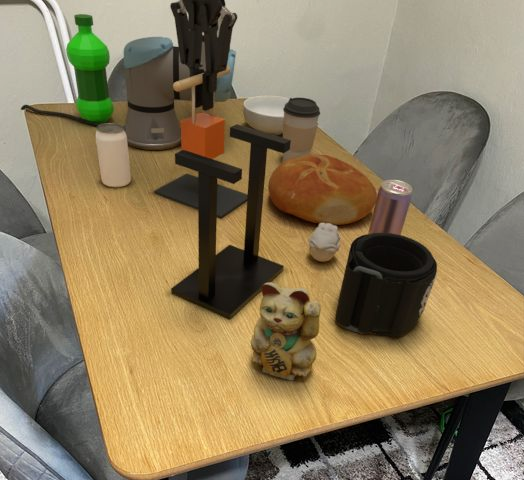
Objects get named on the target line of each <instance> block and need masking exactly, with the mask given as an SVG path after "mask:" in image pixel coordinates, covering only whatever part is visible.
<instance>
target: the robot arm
mask: <svg viewBox="0 0 524 480" xmlns="http://www.w3.org/2000/svg"><path fill="white" fill-rule="evenodd" d="M169 6H170V10H171V13H172V16H173V18H174V25H175V31H176V38H177V45H178V46H176V45H175V46H174V42H173V40H172V39H171V38H170V37H163V36H148V37H140V38H137V39H133V40H131V41H129V42H127V43H126V44H125V45H124V48H123V64H122V65H123V68H124V77H125V88H126V99H127V100H126V101H127V112H126V116H125V122H124V125H122V126H123V127H124V131H125V133H126V136H127V144H128V146H130V147H132V148H135V149H138V150H145V151H165V150H170V149H174V148H176V147H179V146H181V126H180V122H179V120H178V116H177V112H176V109H175V101H190V102H192V87H190V88H187V89H184V90H181V91H175V90H174V88H173V84H174V83H175V82H177V81H180V80H183V79H186V78H189V77H192V76H195V75H198V74H201V73H204V74H202V79H203V81H202V83H201V84H199V85H196V86H195V109H197V108H198V109H199V108H200V107H202V108H201V109H202V111H204V112H207V111H209V110H211V109H212V108H213V103H214V104H215V103H225V102H227V101H228V100H229V99H230V97H231V92H232V85H233V79H234V78H233V77H234V71H235V64H236V55H237V52H236V51H235V50H234V49H232V48H231V44H232V43H231V42H232V35H233V30H234V26H235V24H236V22H237V20H238V14H237V13H236V12H231V11H230V10H229V9H228V7H226V1H225V0H177V1H175V2H171V3H170V5H169ZM227 66H229V67H230V73H229V74H227V75H224V76H221V77H219V78H217V74H218V73H219V72H222V71H225V70H226V68H227ZM26 109H28V110H30V111H31V112H33V113H36V114H41V115H46V116H47V115H49V116H58V117H64V118H68V119H72V120H74V121H77V122H81V123H85V124H88V125H90V126H91V125H92V126H94V127H97V126H98V125H101V123H97V122H91V121H88V120H85V119H83V118H82V117H79V116H76V115H73V114H70V113H65V112H59V111H52V110H51V111H50V110H42V109H37V108H35V107H33V106H32V105H29V104H24V105H22V106H21V107H20V111H25V110H26Z"/></svg>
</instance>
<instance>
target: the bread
mask: <svg viewBox="0 0 524 480" xmlns="http://www.w3.org/2000/svg"><path fill="white" fill-rule="evenodd" d="M267 185H268V188H267V189H268V195H269V197H270V199H271V202H272V203H273V205H274V206H275V207H276V208H277V209H278V210H280V211H281V212H283V213H284V214H289V215H293V216H295V217H296V218H299V219H301V220H303V221H307V222H310V223H314V224H318V225H319V224H320V223H325V224H326V223H330V224H332V225H333V226H340V225H341V226H342V225H348V224H351V223H355V222H358V221H359V220H362V219H364V218H365V217H367V216H368V215H369V214H370V213H371V212H373V210H374V207H375V203H376V199H377V195H378V193H377V190H376V187H375V186H374V185H373V183H372V182H371V180H370V179H369V178H368V177H367V175H365V174H364V173H363V172H362V171H361V170H359V169H357V168H356V167H355V166H353V165H352V164H349V163H347V162H345V161H343V160H341V159H339V158H337V157H334V156H330V155H327V154H316V153H315V154H314V153H313V154H311V153H310V155H304V156H300V157H297V158H290V159H288V160H286V161H284V162H283V161H282V162H281V163H280V164H279V165H278V166H277V167H276V168H275V169H274V170H273V171H272V173H271V175H270V176H269V180H268V184H267Z"/></svg>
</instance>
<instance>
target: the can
mask: <svg viewBox="0 0 524 480" xmlns="http://www.w3.org/2000/svg"><path fill="white" fill-rule="evenodd" d="M123 126H124V125H121V124H119V123H115V122H106V123H104V124H101V125H98V126H96V131H95V143H96V151H97V158H98V165H99V173H100V180H101V183H102V184H103V185H104V186H106V187H109V188H113V189H115V188H124V187H127V186H128V185H129V184H130V183H131V181H132V176H131V166H130V165H131V164H130V158H129V157H130V156H129V155H130V154H129V145H128V144H127V136H126V133H125V131H124V127H123Z"/></svg>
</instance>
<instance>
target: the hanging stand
mask: <svg viewBox="0 0 524 480" xmlns="http://www.w3.org/2000/svg"><path fill="white" fill-rule="evenodd" d="M229 138H232V139H235V140H239V141H243V142H245V143H248V144H250V148H249V149H250V150H249V164H248V165H249V166H248V179H247V180H248V181H247V201H246V211H245V228H244V229H245V230H244V245H243V249H242V248H239V247H237V246H234V245H232V244H228V245H227V246H226V247H225V248H223V249H222V250H220V251H219V252H218V253H217V222H218V221H217V220H218V219H217V218H218V217H217V184H218V180H221V181H223V182H227V183H230V184H231V185H232V184H233V185H235V184H237V183H239V182H240V181H242V179H243V169H242V168H241V167H237V166H234V165H231V164H230V163H229V164H228V163H225V162H222V161H219V160H216V159H210V158H207V157H204V156H201V155H198V154H195V153H192V152H189V151H186V150H180V151H177V152H175V153H174V164H175V165H177V166H179V167H183V168H186V169H188V170H192V171H195V172H197V177H198V209H197V217H198V219H197V221H198V222H197V226H198V228H197V229H198V231H197V232H198V236H197V237H198V238H197V239H198V240H197V241H198V247H197V249H198V268H196V269H195V270H193V272H190V274H188V275H187V276H186V277H184V278H183V279H182V280H180V281H179V282H178V283H176V284H175V285H174V286H172V287H171V288H170V290H171V291H170V292H171V294H172V295H175V296H177V297H179V298H181V299H184V300H186V301H187V302H190V303H193V304H194V305H197V306H199V307H201V308H204V309H206V310H208V311H210V312H212V313H214V314H217V315H220V316H221V317H224V318H225V319H228V320H231V319H232V318H233V317H235V315H237V314H238V313H239V312H240V311H241V310H242V309H243V308H244V307H245V306H246V305H247V304H248V303H250V302H251V301H252V300H253V299H254V298H255V297H256V296H257V295H259V293H260V292H262V285H264V284H265V283H269V282H272V281H273V280H274V279H275V278H277V277H278V276H279V275H280V274H281V273H282V272H284V267H285V265H283V264H280V263H278V262H275V261H272V260H270V259H268V258H265V257H262V256H260V255H259V252H260V240H261V239H260V238H261V228H262V218H263V217H262V216H263V205H264V193H265V192H264V191H265V179H266V170H267V169H266V168H267V159H268V158H267V155H268V150H272V151H275V152H278V153H281V154H283V153H285V152H287V151H288V150H290V143H291V140H288V139H285V138H283V136H282V137H281V136H279V135H271V134H268V133H265V132H261V131H258V130H256V129H254V128H252V127H247V126H244V125H241V124H238V123H236V124H234V125H232V126H229Z"/></svg>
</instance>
